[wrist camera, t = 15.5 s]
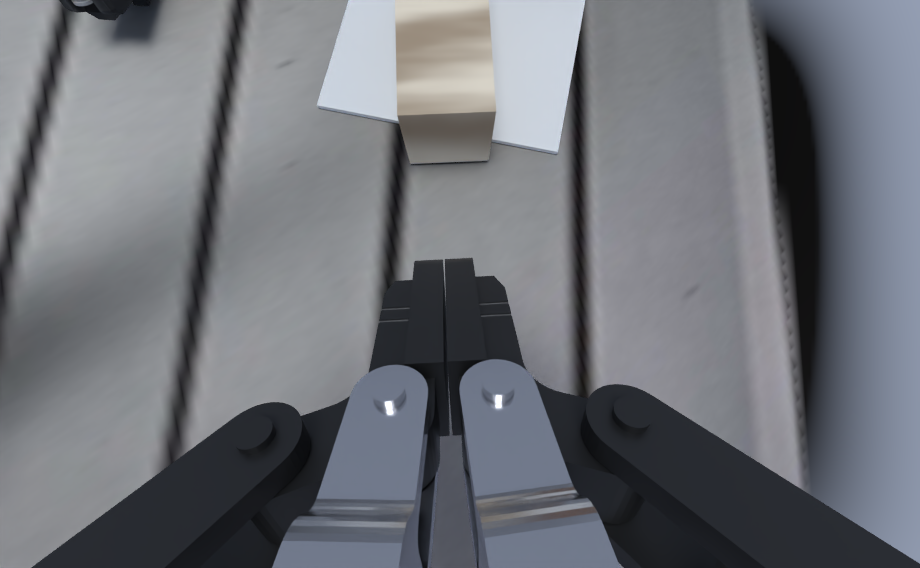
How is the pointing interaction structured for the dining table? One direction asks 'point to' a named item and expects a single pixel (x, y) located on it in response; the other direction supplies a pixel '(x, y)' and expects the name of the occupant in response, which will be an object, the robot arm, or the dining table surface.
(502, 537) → the robot arm
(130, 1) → the magazine
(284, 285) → the dining table surface
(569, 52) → the mat
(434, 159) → the birch block
